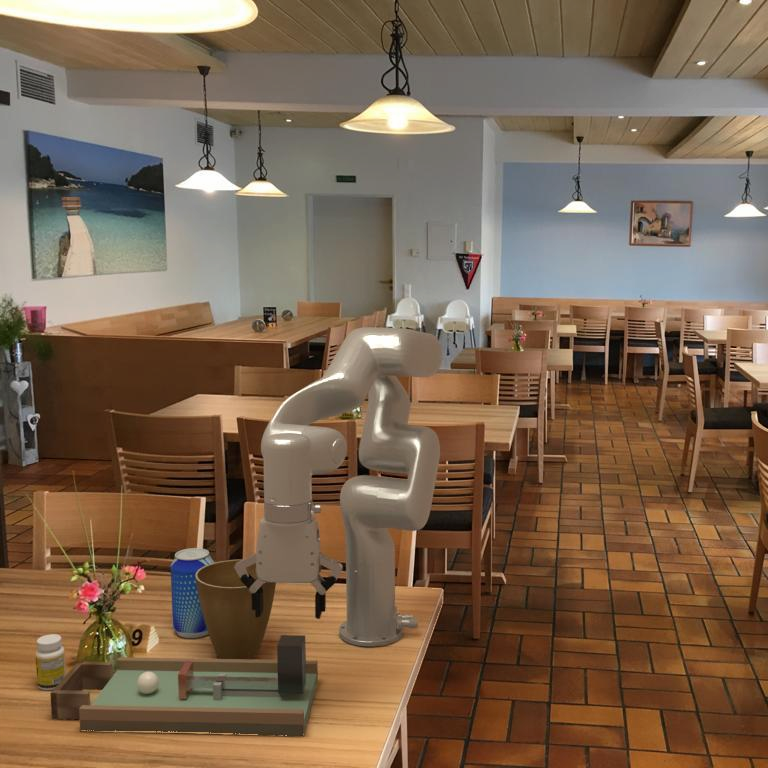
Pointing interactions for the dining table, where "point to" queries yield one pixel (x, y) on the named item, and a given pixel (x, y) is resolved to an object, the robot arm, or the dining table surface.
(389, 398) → the robot arm
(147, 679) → the ball
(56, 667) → the supplement bottle
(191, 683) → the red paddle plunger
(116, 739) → the dining table surface
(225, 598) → the plant pot
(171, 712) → the pitch
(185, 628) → the beer can
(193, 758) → the dining table surface
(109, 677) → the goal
